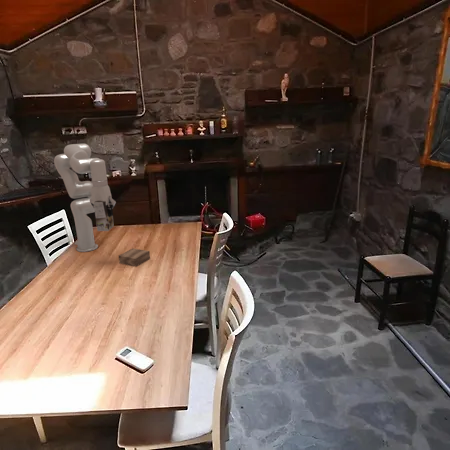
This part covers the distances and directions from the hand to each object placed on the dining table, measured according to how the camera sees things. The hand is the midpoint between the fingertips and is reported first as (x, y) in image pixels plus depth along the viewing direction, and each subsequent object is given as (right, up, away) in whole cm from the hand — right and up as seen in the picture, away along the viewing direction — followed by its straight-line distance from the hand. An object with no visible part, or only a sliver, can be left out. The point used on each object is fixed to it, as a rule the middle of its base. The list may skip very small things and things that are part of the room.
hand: (104, 215), depth 190 cm
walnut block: (+14, -26, +9) cm, 31 cm away
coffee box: (0, -7, +2) cm, 8 cm away
